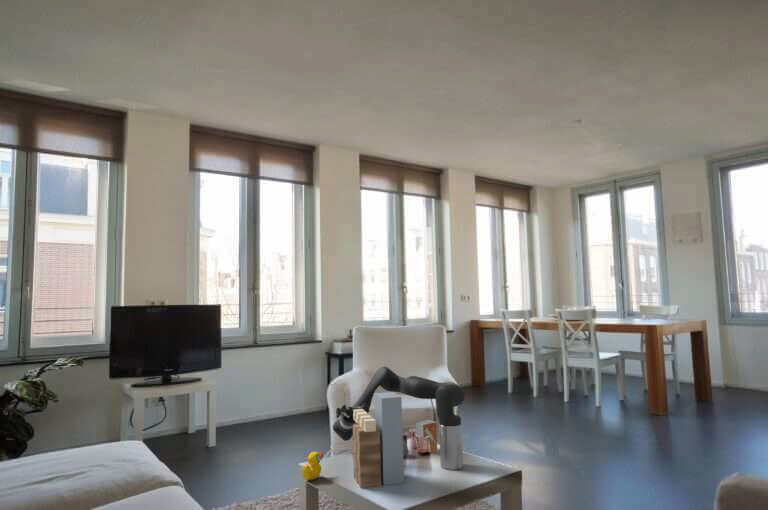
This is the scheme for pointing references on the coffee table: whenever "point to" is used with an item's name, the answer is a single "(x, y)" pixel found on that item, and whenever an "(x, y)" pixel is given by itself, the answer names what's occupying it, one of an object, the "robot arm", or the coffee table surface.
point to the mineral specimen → (405, 448)
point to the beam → (364, 420)
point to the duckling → (312, 466)
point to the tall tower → (390, 436)
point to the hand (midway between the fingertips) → (355, 405)
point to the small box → (427, 432)
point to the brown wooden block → (366, 457)
